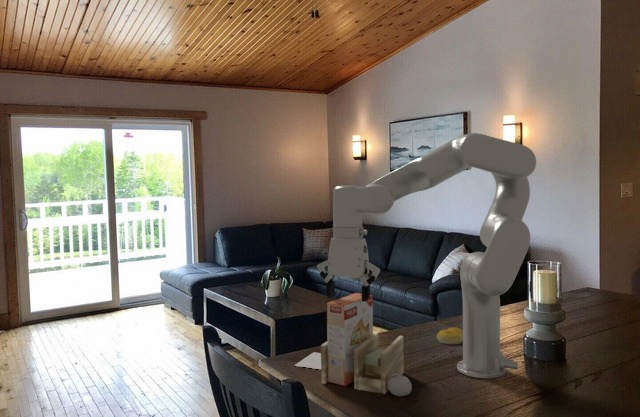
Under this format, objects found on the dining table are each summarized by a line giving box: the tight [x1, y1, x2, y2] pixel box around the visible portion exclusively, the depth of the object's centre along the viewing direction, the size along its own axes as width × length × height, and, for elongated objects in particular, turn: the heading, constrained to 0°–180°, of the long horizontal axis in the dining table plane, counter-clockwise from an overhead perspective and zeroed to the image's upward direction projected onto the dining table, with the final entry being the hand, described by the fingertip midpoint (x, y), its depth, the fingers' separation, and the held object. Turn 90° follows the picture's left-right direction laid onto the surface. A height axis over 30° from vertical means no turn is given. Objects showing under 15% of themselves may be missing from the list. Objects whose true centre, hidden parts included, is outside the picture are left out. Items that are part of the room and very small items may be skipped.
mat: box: [293, 352, 321, 371], centre depth 159 cm, size 10×12×1 cm
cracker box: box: [326, 292, 374, 387], centre depth 146 cm, size 14×6×21 cm, turn 144°
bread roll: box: [436, 326, 463, 345], centre depth 175 cm, size 8×9×4 cm
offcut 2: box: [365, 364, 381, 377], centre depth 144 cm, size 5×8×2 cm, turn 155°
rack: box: [320, 332, 405, 395], centre depth 145 cm, size 17×15×10 cm
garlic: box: [388, 373, 413, 397], centre depth 135 cm, size 6×5×5 cm
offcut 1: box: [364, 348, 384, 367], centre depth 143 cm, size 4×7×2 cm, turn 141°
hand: (347, 298), depth 146 cm, fingers open, 9 cm apart
